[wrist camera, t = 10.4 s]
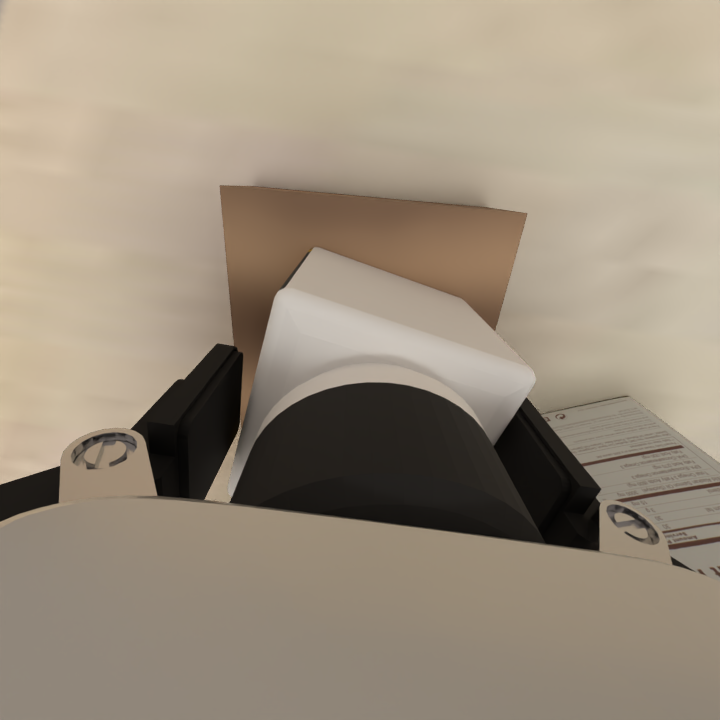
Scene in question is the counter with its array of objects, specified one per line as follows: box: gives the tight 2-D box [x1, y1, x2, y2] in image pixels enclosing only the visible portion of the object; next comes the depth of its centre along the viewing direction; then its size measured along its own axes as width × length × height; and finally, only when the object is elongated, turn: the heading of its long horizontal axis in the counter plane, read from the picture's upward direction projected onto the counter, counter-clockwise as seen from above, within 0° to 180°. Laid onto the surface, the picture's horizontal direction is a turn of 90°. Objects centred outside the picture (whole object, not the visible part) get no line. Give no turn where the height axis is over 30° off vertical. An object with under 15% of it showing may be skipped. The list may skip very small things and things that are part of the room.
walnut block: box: [220, 185, 527, 428], centre depth 18 cm, size 12×12×5 cm
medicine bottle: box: [228, 247, 546, 544], centre depth 11 cm, size 7×7×12 cm
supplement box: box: [541, 397, 720, 581], centre depth 19 cm, size 7×7×13 cm
